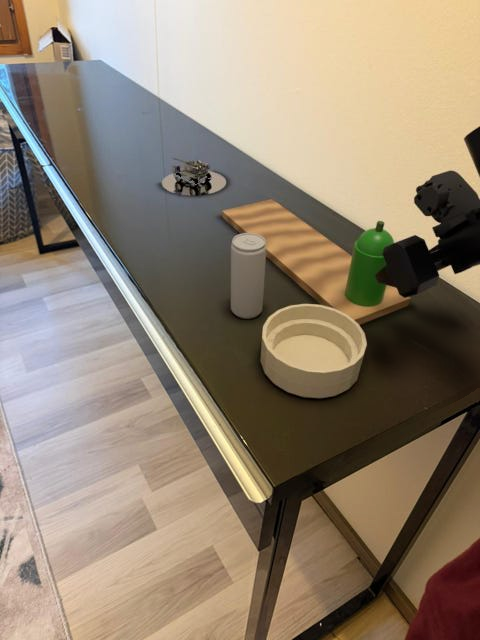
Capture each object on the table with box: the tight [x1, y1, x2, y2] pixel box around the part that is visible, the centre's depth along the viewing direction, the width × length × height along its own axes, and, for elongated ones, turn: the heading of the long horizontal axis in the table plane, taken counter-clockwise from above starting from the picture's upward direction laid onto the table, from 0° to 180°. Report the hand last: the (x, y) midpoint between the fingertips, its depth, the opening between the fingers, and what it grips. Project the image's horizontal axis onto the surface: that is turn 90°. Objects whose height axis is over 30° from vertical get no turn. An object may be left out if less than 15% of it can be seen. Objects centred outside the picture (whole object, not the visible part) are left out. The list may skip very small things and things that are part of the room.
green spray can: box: [345, 220, 395, 307], centre depth 66 cm, size 6×6×12 cm
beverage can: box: [230, 233, 267, 320], centre depth 65 cm, size 5×5×12 cm
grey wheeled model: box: [161, 156, 227, 197], centre depth 105 cm, size 15×15×5 cm
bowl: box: [260, 303, 368, 399], centre depth 59 cm, size 13×13×5 cm
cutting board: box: [221, 198, 411, 326], centre depth 81 cm, size 40×12×2 cm, turn 29°
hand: (400, 268), depth 62 cm, fingers open, 9 cm apart
